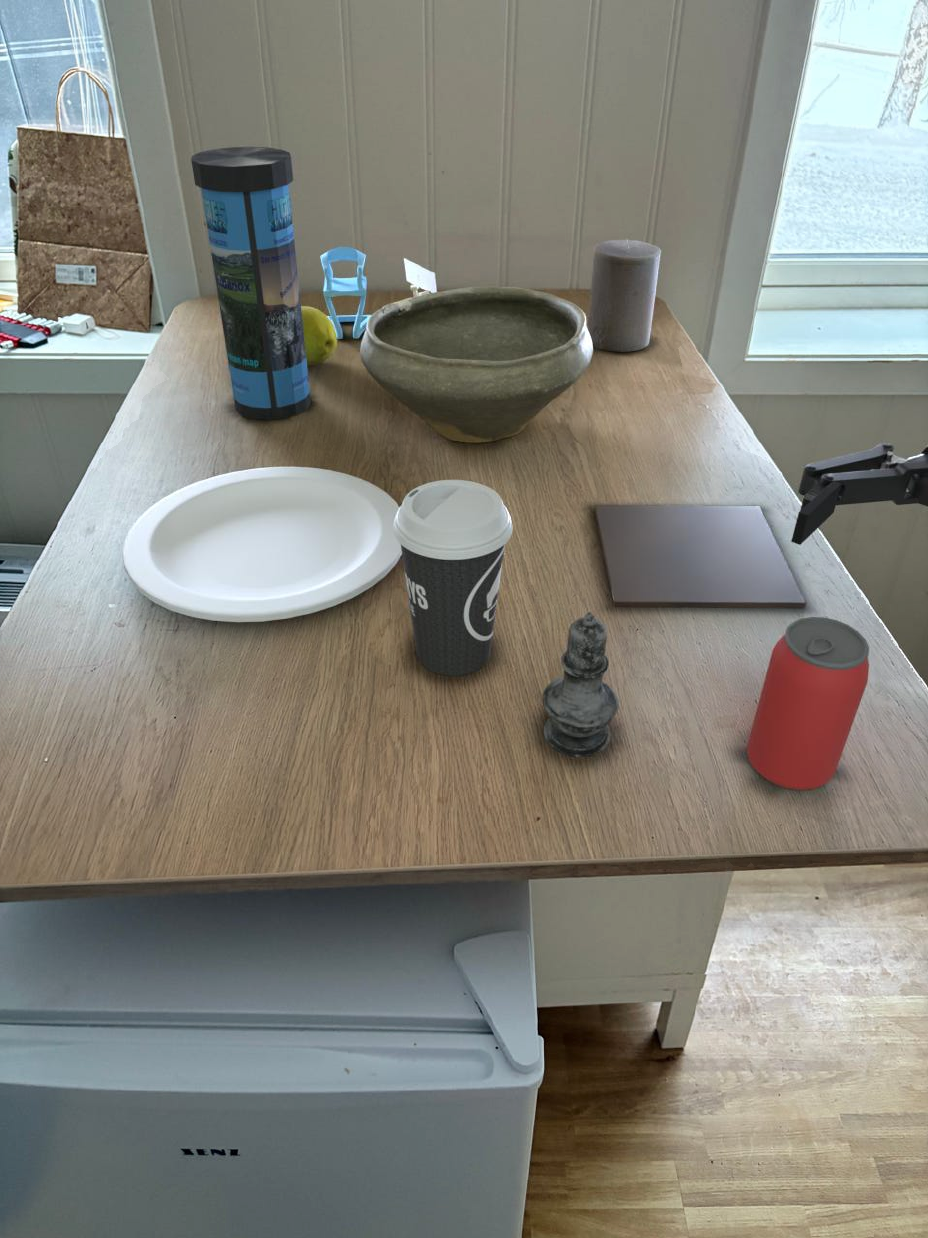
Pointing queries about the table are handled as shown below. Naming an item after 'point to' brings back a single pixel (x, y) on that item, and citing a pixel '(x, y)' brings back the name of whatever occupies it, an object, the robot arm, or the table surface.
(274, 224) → the advertising column
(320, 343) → the lemon
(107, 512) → the table surface
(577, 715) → the salt shaker
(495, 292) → the bowl
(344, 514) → the plate
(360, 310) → the chair
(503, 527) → the coffee cup
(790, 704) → the beer can
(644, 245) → the pillar candle
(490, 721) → the table surface
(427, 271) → the white panel on stand
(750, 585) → the back mat
